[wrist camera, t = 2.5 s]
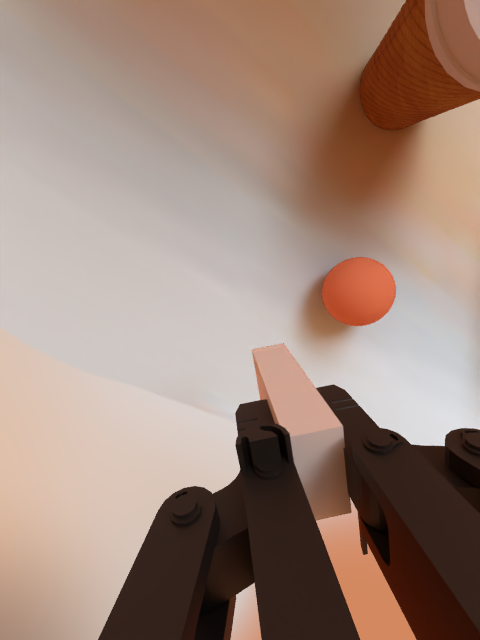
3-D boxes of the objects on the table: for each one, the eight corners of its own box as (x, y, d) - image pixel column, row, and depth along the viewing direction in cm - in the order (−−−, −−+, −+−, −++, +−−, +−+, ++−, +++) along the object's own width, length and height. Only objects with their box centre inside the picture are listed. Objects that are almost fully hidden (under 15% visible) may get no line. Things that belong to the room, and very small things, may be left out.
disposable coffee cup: (471, 65, 25) (692, -86, 13) (405, 172, 27) (549, 119, 15) (384, -10, 23) (552, -260, 12) (319, 110, 25) (408, -3, 13)
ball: (309, 262, 28) (334, 267, 22) (370, 250, 28) (410, 252, 22) (316, 321, 30) (341, 341, 24) (374, 310, 30) (412, 326, 24)
